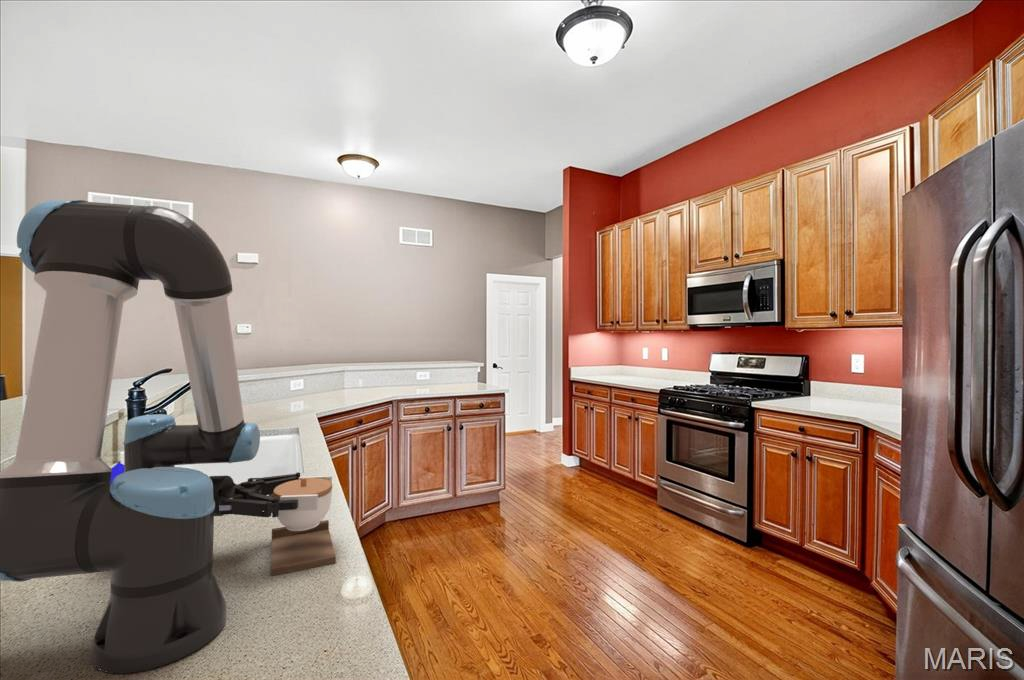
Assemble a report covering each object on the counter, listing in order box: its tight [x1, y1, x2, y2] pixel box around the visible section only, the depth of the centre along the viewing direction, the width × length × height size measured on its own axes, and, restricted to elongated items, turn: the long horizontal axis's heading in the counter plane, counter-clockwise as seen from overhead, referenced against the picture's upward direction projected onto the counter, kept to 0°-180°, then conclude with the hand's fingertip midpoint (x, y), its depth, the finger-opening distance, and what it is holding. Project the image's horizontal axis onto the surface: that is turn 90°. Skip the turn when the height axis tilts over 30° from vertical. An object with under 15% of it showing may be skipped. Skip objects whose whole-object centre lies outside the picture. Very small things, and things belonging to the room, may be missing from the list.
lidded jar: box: [273, 478, 333, 531], centre depth 91 cm, size 11×11×9 cm
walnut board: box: [270, 519, 337, 577], centre depth 91 cm, size 15×11×3 cm
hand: (324, 491), depth 92 cm, fingers closed on lidded jar, 11 cm apart
